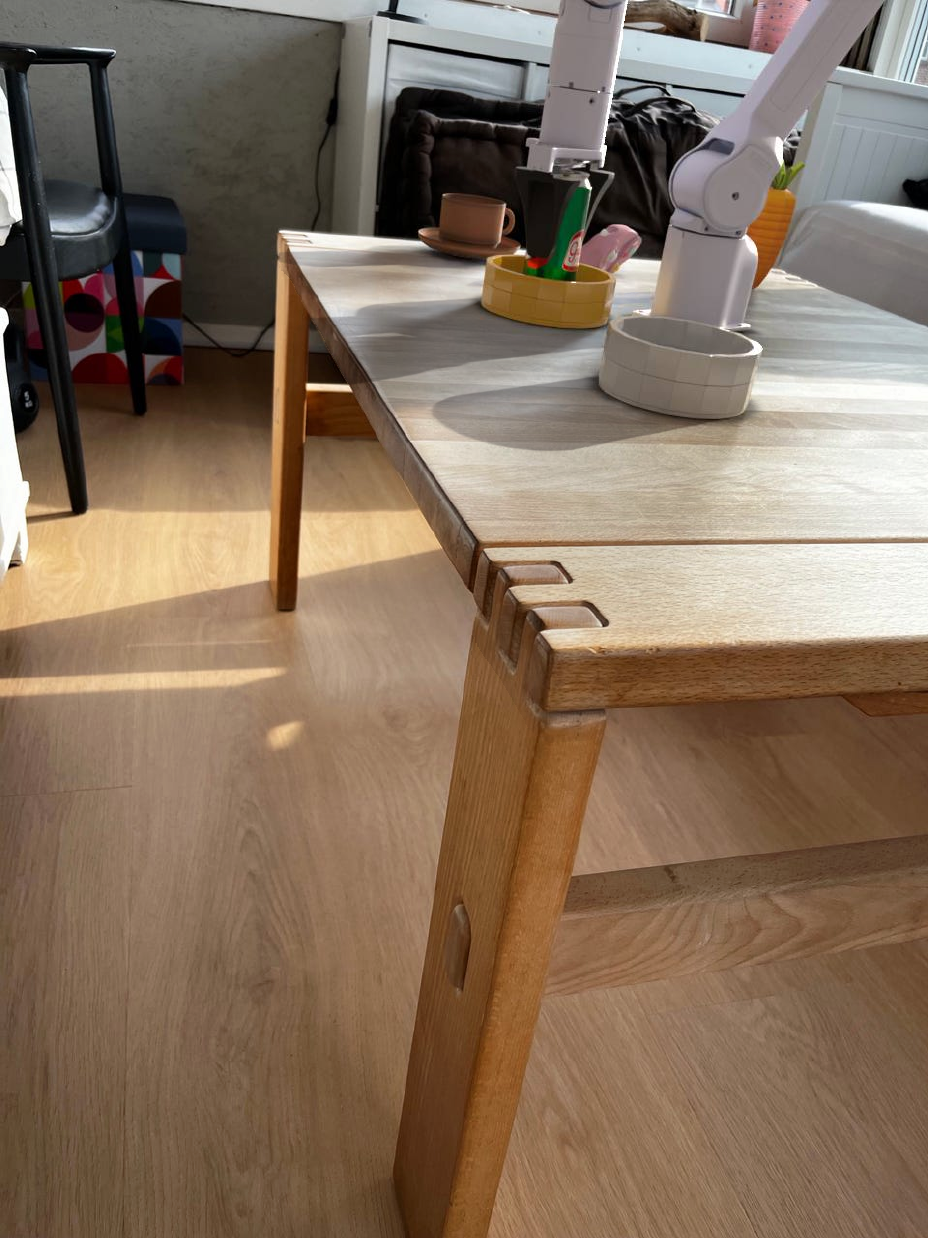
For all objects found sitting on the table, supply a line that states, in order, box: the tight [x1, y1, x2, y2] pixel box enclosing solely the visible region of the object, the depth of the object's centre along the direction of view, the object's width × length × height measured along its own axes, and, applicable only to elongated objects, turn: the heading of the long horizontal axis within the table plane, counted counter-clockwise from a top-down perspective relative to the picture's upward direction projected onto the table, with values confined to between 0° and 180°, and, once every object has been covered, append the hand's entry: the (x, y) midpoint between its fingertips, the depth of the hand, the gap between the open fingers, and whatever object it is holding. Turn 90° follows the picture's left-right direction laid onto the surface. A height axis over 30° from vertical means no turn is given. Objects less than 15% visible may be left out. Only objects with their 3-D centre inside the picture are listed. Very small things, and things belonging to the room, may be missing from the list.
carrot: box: [746, 159, 806, 290], centre depth 120 cm, size 5×5×15 cm
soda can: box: [523, 169, 592, 282], centre depth 95 cm, size 5×5×12 cm
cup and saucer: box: [417, 192, 521, 260], centre depth 119 cm, size 12×12×6 cm
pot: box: [598, 315, 764, 420], centre depth 77 cm, size 11×11×4 cm
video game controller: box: [579, 223, 643, 275], centre depth 118 cm, size 10×5×7 cm, turn 148°
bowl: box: [480, 253, 617, 329], centre depth 97 cm, size 12×12×4 cm
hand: (553, 252), depth 95 cm, fingers open, 7 cm apart
